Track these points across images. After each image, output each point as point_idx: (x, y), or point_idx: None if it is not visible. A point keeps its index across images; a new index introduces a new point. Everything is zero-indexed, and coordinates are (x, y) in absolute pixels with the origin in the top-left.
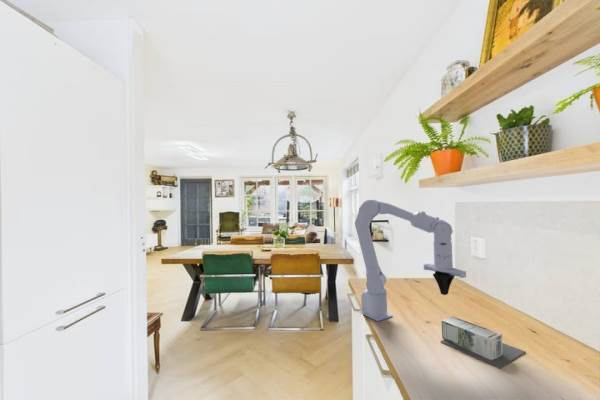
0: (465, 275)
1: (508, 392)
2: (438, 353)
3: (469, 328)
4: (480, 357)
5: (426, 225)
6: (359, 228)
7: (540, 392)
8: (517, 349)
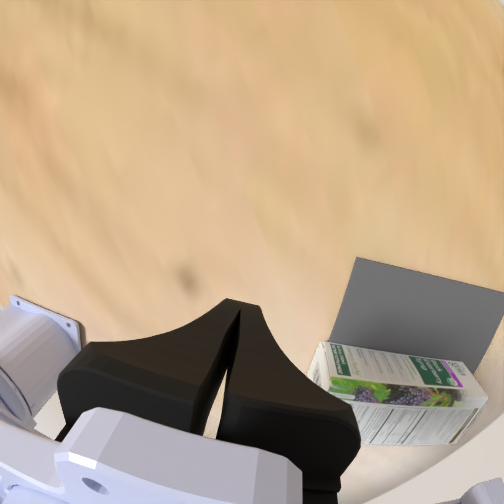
0: (498, 500)
1: (443, 457)
2: None
3: (405, 435)
4: None
5: None
6: None
7: (487, 424)
8: (498, 299)
